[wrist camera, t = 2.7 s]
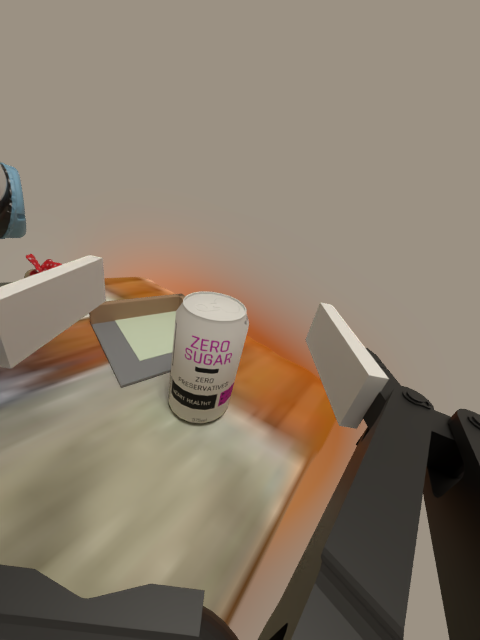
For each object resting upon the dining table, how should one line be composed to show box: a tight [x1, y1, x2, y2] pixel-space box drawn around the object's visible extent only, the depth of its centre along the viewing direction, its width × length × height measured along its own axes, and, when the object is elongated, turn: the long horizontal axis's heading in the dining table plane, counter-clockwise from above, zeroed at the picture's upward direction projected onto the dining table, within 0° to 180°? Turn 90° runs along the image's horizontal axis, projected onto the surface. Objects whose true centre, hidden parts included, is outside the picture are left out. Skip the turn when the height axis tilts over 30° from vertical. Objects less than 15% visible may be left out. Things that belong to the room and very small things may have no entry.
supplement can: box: [169, 292, 249, 423], centre depth 29 cm, size 8×8×15 cm
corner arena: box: [89, 294, 185, 388], centre depth 42 cm, size 18×18×4 cm
